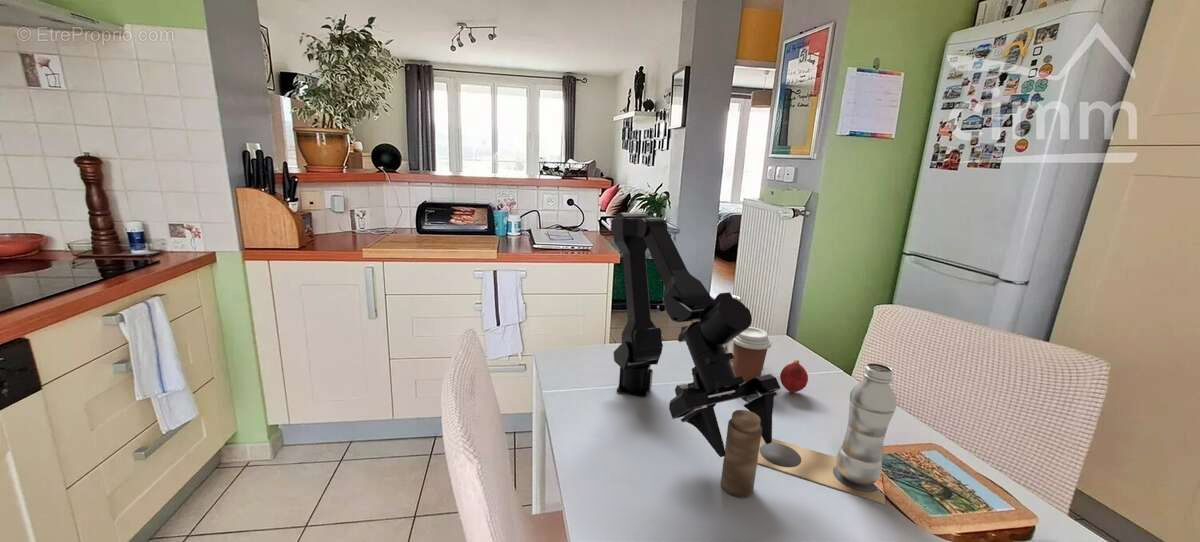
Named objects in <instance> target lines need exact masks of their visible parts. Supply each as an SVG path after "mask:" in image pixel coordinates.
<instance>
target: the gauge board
mask: <svg viewBox="0 0 1200 542" xmlns="http://www.w3.org/2000/svg"><path fill="white" fill-rule="evenodd" d="M836 457H837V456H833V455H831V454H830V455H829V454H827V453H823V452H819V451H817V450H813V449H809V448H807V447H806V448H805V447H802V446H799V445H796V444H793V443H789V442H786V441H782V440H780V439H775V438H772V442H771V443H769V444H766V443H765V441H764V439H763V438H762V436H761V441H760V447H759V454H758V461H757V465H761V466H763V467H767V468H770V469H772V470H776V471H780V472H782V473H785V474H789V475H791V476H795V477H797V478H802V479H804V480H807V481H811V482H813V483H817V484H820V485H823V486H827V487H828V488H829V487H830V488H832V489H835V490H838V491H841V492H845V493H848V494H851V495H854V496H858V497H861V498H864V499H866V500H870V501H873V502H876V503H878V504H883V505H886V497H885V493H884V494H883V493H881V492H880V491H879V489H877V487H876V486H875V485H874V484H871V485H858V484H855V483H852V482H850V481H848V480H846V479H845V478H844V477H842V476H841V474H840V473H839V471H838V469H837V466H836Z"/></svg>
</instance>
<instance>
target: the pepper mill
mask: <svg viewBox="0 0 1200 542" xmlns="http://www.w3.org/2000/svg"><path fill="white" fill-rule="evenodd" d="M760 421H761V419H760V417H759V416H758V415H757V414H755V413H753V412H751V411H749V410H748V409H746V410H745V409H738V410H734V411H732V413H731V418H730V419H729V420H728V422H727V430H726V440H725V445H724V449H725V456H723V463H722V470H721V477H720V478H721V479H720V488H721V489H722V490H723V492H725V493H726V494H727V495H730V496H732V497H734V498H738V499H746V498H750V497H751V496H752V495H753V493H754V487H755V480H756V473H757V467H758V464H757V461H758V454H759V447H760V441H761V434H762V427H761V425H760Z"/></svg>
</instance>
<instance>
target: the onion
mask: <svg viewBox="0 0 1200 542" xmlns="http://www.w3.org/2000/svg"><path fill="white" fill-rule="evenodd" d="M779 379H780V380H779V381H781V382H780V383H781V385H782V386H783V388H784V389H785V390H787V391H788V392H789V393H791V394H793V393H797V392H800V391H801V390H803V389H804V388H806V386H807V384H808V381H809V375H808V372H807V371H806V369H805V368H804V366H803V365H801V364H800V360H799V359H794V361H793V362H792V363H789V364H786V365H785V366H784V367H783V368H782V370H781V371H780V375H779Z"/></svg>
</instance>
